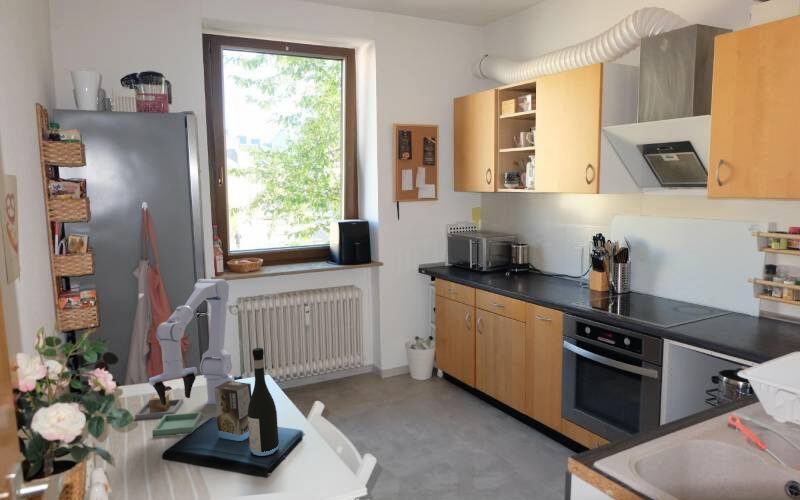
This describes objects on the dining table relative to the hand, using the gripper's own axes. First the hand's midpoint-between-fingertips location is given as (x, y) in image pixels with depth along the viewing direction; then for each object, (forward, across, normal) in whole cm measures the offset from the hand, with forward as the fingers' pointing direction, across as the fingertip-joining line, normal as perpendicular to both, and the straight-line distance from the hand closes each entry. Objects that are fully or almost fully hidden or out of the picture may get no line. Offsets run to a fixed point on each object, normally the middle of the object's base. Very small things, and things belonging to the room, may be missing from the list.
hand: (175, 400), depth 176 cm
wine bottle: (+9, -10, +37) cm, 39 cm away
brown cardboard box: (+8, 0, -16) cm, 18 cm away
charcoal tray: (+8, 0, -16) cm, 18 cm away
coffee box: (+9, -9, +22) cm, 25 cm away
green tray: (+8, 0, +1) cm, 8 cm away
